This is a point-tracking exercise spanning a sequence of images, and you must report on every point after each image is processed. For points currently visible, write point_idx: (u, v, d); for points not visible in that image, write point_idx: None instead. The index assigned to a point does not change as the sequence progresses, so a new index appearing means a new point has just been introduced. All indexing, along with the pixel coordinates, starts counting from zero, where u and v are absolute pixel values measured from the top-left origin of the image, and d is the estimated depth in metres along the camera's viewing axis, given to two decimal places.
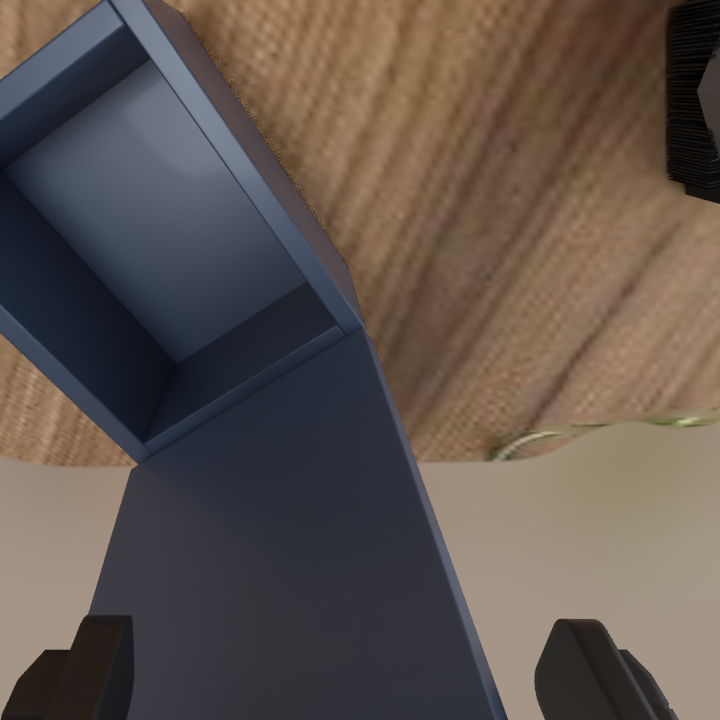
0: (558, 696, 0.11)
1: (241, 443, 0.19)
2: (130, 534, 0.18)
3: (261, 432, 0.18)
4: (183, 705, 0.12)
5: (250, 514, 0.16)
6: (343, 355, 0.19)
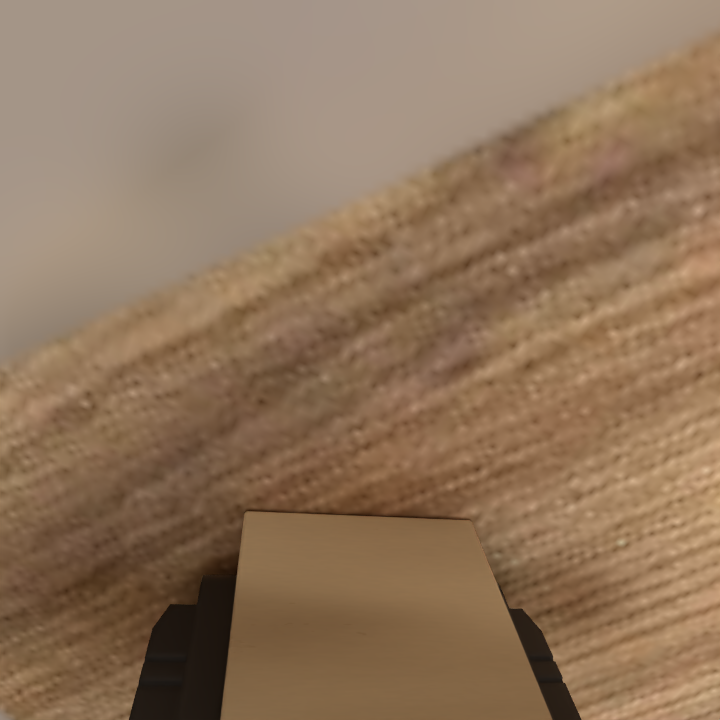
0: None
1: None
2: None
3: None
4: None
5: None
6: None
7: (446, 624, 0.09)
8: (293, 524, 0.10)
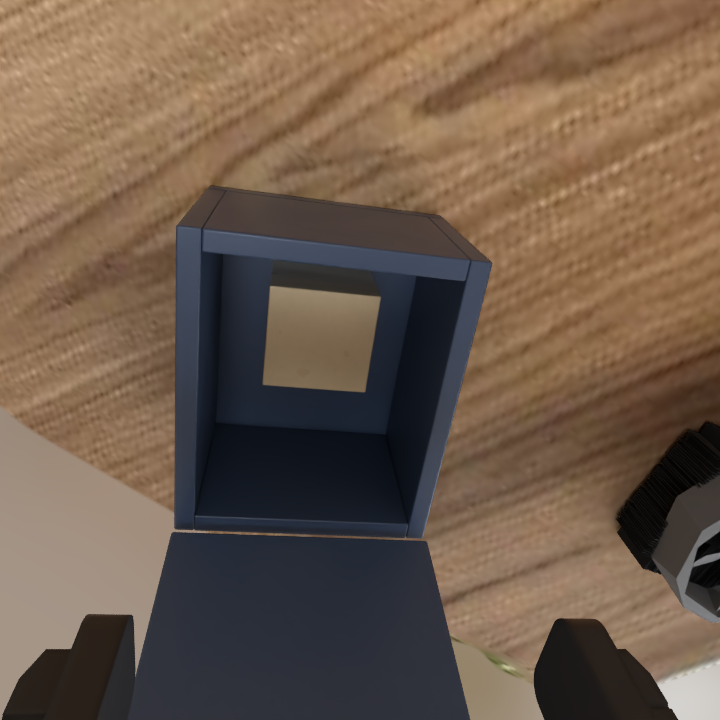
0: (558, 695, 0.11)
1: (306, 590, 0.21)
2: (179, 620, 0.19)
3: (328, 592, 0.21)
4: None
5: (321, 683, 0.18)
6: (409, 560, 0.23)
7: (348, 278, 0.24)
8: None
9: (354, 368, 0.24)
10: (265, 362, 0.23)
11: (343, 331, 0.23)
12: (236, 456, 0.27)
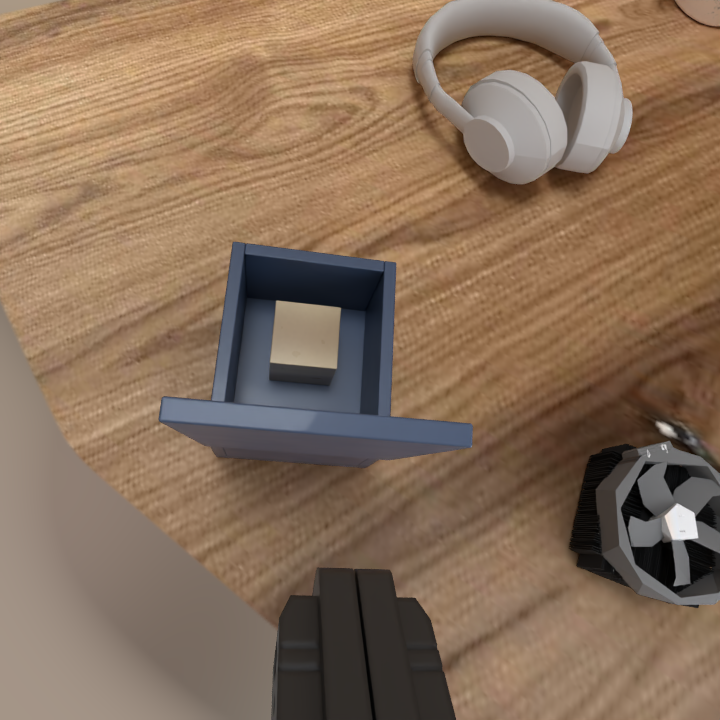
0: None
1: None
2: None
3: None
4: None
5: None
6: None
7: None
8: None
9: (328, 351, 0.37)
10: (272, 347, 0.37)
11: (320, 327, 0.37)
12: None
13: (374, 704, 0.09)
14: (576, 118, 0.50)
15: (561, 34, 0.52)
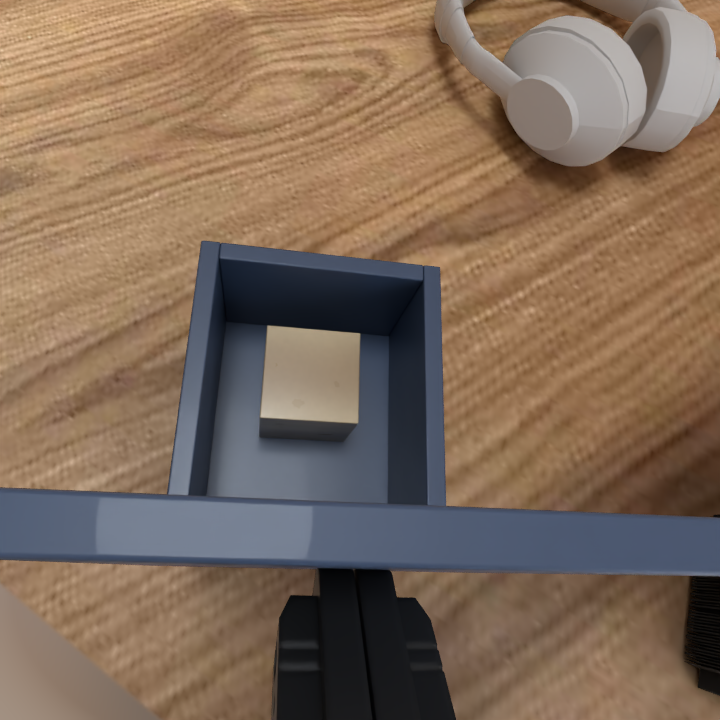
0: None
1: None
2: None
3: None
4: None
5: None
6: None
7: None
8: None
9: (345, 398, 0.25)
10: (262, 394, 0.25)
11: (332, 363, 0.26)
12: None
13: (373, 704, 0.09)
14: None
15: None
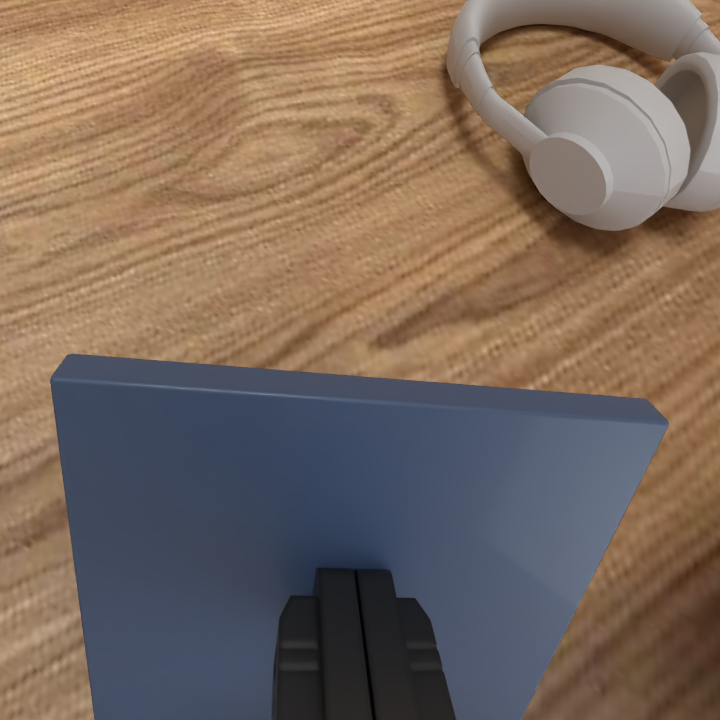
0: None
1: None
2: None
3: None
4: None
5: None
6: None
7: None
8: None
9: None
10: None
11: None
12: None
13: (374, 704, 0.09)
14: None
15: (646, 20, 0.38)
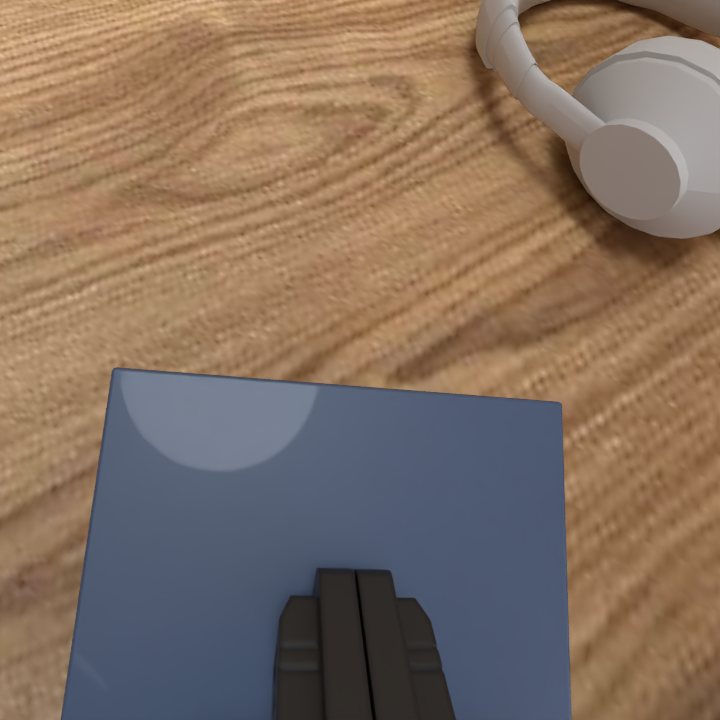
0: None
1: None
2: None
3: None
4: None
5: None
6: None
7: None
8: None
9: None
10: None
11: None
12: None
13: (374, 704, 0.09)
14: None
15: None
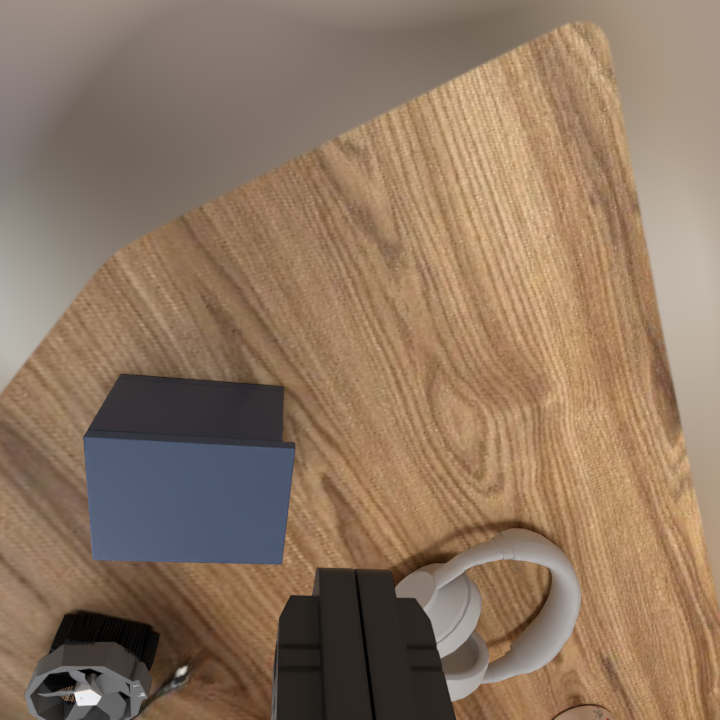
0: None
1: None
2: None
3: None
4: None
5: None
6: None
7: None
8: None
9: None
10: None
11: None
12: None
13: (373, 704, 0.09)
14: None
15: (534, 642, 0.59)
